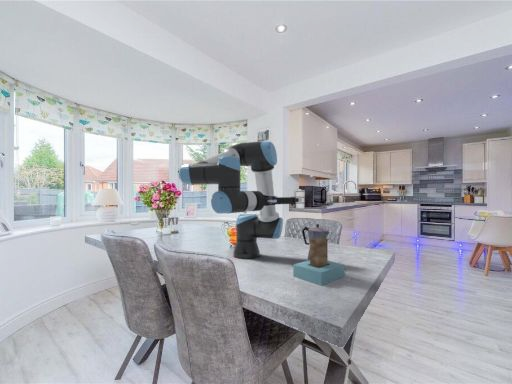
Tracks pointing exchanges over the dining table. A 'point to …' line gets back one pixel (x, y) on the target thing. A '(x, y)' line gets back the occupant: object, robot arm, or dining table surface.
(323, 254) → the walnut board
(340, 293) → the dining table surface
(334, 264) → the slotted base
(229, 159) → the robot arm
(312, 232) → the moka pot
